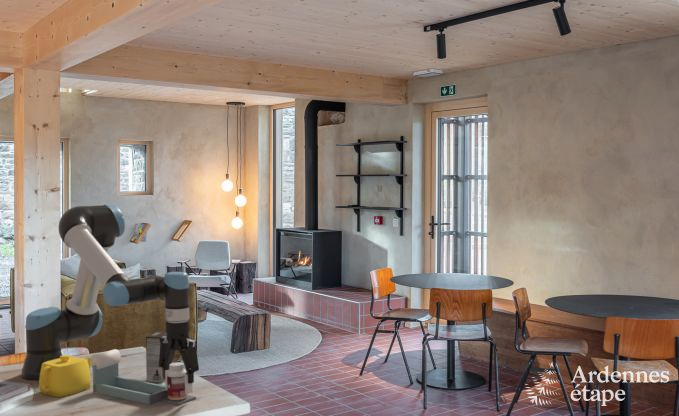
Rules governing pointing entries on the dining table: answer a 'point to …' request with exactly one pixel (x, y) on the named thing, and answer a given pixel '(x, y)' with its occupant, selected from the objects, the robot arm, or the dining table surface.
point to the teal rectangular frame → (121, 381)
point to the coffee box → (154, 357)
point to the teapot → (65, 376)
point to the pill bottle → (176, 381)
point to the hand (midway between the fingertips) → (179, 391)
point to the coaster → (178, 402)
